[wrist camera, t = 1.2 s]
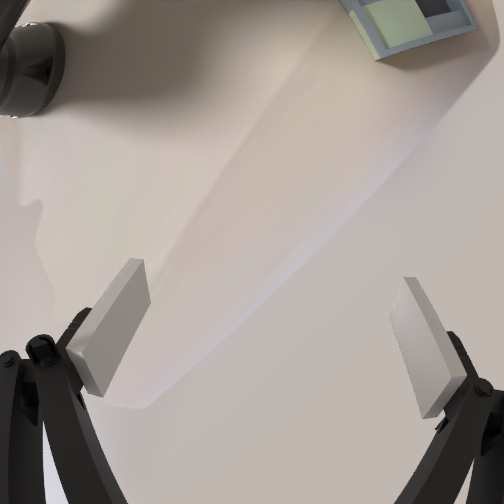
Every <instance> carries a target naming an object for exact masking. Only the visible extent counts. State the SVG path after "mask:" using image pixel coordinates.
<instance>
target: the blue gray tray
mask: <svg viewBox="0 0 504 504" xmlns="http://www.w3.org/2000/svg"><path fill="white" fill-rule="evenodd" d="M340 2H341V3H342V5H343V6H344V8H345V10H346V11H347V13H348V14H349V16H350V18H351V19H352V21H353V23H354V24H355V26H356V28H357V29H358V31H359V33H360V35H361V36H362V38H363V40H364V42H365V44H366V45H367V47H368V49H369V51H370V53H371V55H372V57H373V59H374V61H375V60H378V59H381V58H384V57H387V56H390V55H393V54H396V53H399V52H402V51H405V50H408V49H411V48H414V47H417V46H420V45H423V44H427V43H430V42H434V41H437V40H441V39H444V38H448V37H452V36H455V35H459V34H463V33H467V32H472V31H476V30H479V29H478V27H477V25H476V23H475V21H474V19H473V17H472V15H471V13H470V11H469V9H468V7H467V5H466V3H465V1H464V0H340Z"/></svg>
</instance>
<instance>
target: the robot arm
mask: <svg viewBox="0 0 504 504" xmlns="http://www.w3.org/2000/svg"><path fill="white" fill-rule="evenodd" d="M30 1H31V0H0V115H5V116H7V117H10V118H23V117H27V116H31V115H34V114H36V113H38V112H39V111H41V110H42V109H43V108H44V107H45V106H46V105H47V104H48V103H49V102H50V100H51V99H52V97H53V96H54V94H55V92H56V90H57V88H58V86H59V84H60V81H61V78H62V74H63V69H64V62H65V50H64V44H63V40H62V38H61V36H60V34H59V32H58V31H57V30H56V29H55V28H54V27H53V26H51V25H49V24H45V23H37V22H32V23H26V24H23V25H21V26H19V27H15V25H16V23H17V21H18V20H19V18H20V17H21V15H22V13H23V12H24V10H25V9H26V7H27V6H28V4H29V3H30ZM14 27H15V28H14ZM150 303H151V301H150V296H149V290H148V284H147V279H146V273H145V267H144V260H143V259H132V258H130V259H129V260H128V262H127V263H126V264H125V266H124V267H123V268H122V269H121V271H120V272H119V273H118V275H117V276H116V277H115V279H114V280H113V281H112V283H111V284H110V285H109V287H108V288H107V289H106V291H105V292H104V293H103V295H102V296H101V298H100V299H99V300H98V302H97V303H96V305H95V306H94V307H93V308H87V307H86V308H85V309H83V310H82V311H80V312H79V313H78V314H77V315H76V317H75V318H74V319H73V321H72V323H70V325H69V326H68V329H66V330H65V332H64V333H63V335H62V336H61V337H60V339H59V341H58V342H57V343H56V344H55V342H54V340H53V338H52V337H51V336H49V335H46V334H42V335H37V336H35V337H34V338H32V339H31V340H30V341H29V342H28V343H27V345H26V352H27V354H28V356H29V358H30V359H21V357H20V356H19V354H18V352H16V351H14V350H9V351H5V352H4V353H2V354H1V355H0V504H46V499H45V488H44V473H43V421H44V425H45V430H46V434H47V438H48V442H49V445H50V449H51V452H52V456H53V459H54V462H55V466H56V469H57V472H58V475H59V478H60V481H61V484H62V487H63V490H64V492H65V495H66V498H67V500H68V503H69V504H128V503H127V501H126V499H125V497H124V495H123V493H122V491H121V489H120V487H119V485H118V483H117V481H116V479H115V477H114V475H113V473H112V471H111V468H110V466H109V464H108V462H107V460H106V458H105V455H104V453H103V450H102V448H101V445H100V443H99V440H98V438H97V435H96V433H95V430H94V428H93V425H92V422H91V419H90V417H89V414H88V411H87V408H86V405H85V402H84V399H83V396H82V394H81V392H80V391H81V389H82V387H83V385H84V387H85V388H86V390H87V392H88V393H89V394H92V395H96V396H100V397H104V395H105V393H106V390H107V388H108V386H109V384H110V382H111V380H112V378H113V376H114V374H115V372H116V370H117V368H118V366H119V364H120V362H121V359H122V357H123V355H124V353H125V351H126V350H127V348H128V346H129V344H130V342H131V340H132V338H133V336H134V334H135V332H136V330H137V328H138V326H139V324H140V322H141V320H142V318H143V317H144V315H145V313H146V311H147V309H148V307H149V305H150ZM389 320H390V322H391V325H392V328H393V330H394V333H395V335H396V339H397V341H398V344H399V347H400V350H401V353H402V355H403V359H404V361H405V364H406V367H407V370H408V374H409V377H410V380H411V383H412V386H413V389H414V392H415V395H416V399H417V402H418V405H419V409H420V413H421V416H422V419H427V418H433V417H437V416H438V415H439V414H440V413H441V411H442V410H443V409H444V412H445V415H446V416H445V417H444V418H443V420H442V421H441V422H440V423H439V424H438V426H437V427H436V428H435V430H437V429H438V430H437V432H436V434H435V436H434V438H433V440H432V442H431V444H430V446H429V447H428V449H427V451H426V453H425V455H424V456H423V458H422V460H421V462H420V464H419V465H418V467H417V469H416V470H415V472H414V474H413V475H412V477H411V478H410V480H409V482H408V483H407V485H406V486H405V488H404V489H403V491H402V493H401V494H400V496H399V497H398V498H397V500H396V501H395V503H394V504H454V502H455V500H456V498H457V496H458V494H459V492H460V489H461V487H462V485H463V483H464V481H465V478H466V476H467V474H468V472H469V469H470V467H471V464H472V462H473V460H474V464H473V470H472V476H471V481H470V486H469V491H468V496H467V500H466V504H504V391H501V390H495V389H494V388H493V386H492V385H491V383H490V382H488V381H487V380H486V379H482V378H479V377H478V374H477V372H476V370H475V368H474V366H473V364H472V362H471V360H470V358H469V356H468V355H467V352H466V351H465V348H464V346H463V344H462V342H461V340H460V339H459V338H458V337H457V336H456V335H455V334H454V333H453V332H452V331H449V332H446V331H445V329H444V327H443V325H442V323H441V321H440V319H439V317H438V315H437V314H436V312H435V310H434V308H433V306H432V304H431V303H430V301H429V299H428V297H427V296H426V294H425V292H424V290H423V289H422V287H421V285H420V283H419V282H418V280H417V278H415V277H403V279H402V282H401V286H400V289H399V292H398V295H397V298H396V301H395V304H394V307H393V310H392V313H391V315H390V318H389Z"/></svg>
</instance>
